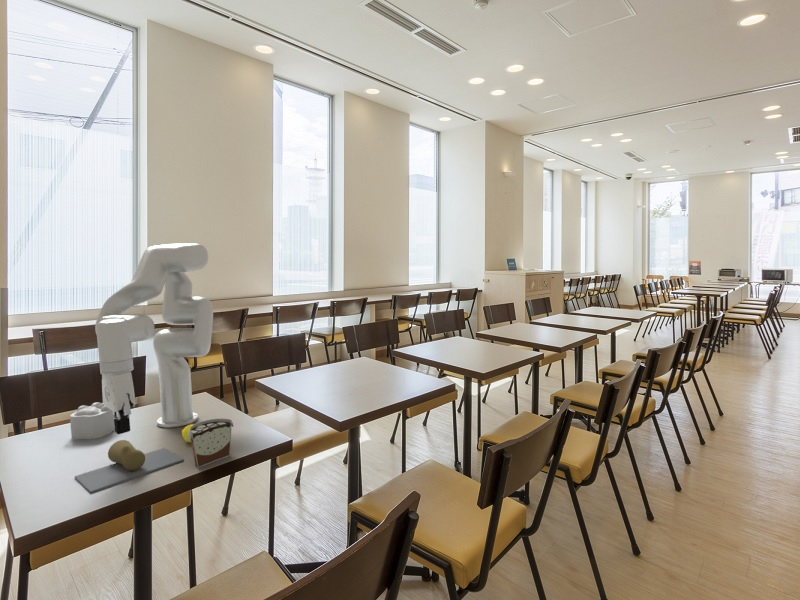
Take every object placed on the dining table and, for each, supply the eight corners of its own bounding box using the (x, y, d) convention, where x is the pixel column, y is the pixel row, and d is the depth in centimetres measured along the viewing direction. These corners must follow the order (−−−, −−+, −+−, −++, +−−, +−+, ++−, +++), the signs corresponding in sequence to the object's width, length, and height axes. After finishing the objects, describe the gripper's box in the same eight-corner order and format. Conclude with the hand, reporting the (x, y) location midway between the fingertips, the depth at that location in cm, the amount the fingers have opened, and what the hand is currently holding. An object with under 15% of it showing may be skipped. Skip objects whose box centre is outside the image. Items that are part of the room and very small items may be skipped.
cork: (103, 461, 123) (119, 472, 116) (113, 438, 124) (129, 448, 117) (126, 463, 127) (143, 475, 120) (136, 441, 129) (152, 451, 122)
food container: (223, 448, 134) (221, 414, 133) (235, 453, 130) (233, 419, 129) (181, 463, 124) (178, 427, 123) (192, 470, 120) (189, 433, 119)
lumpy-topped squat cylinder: (66, 439, 142) (63, 412, 141) (93, 424, 155) (90, 399, 154) (100, 438, 142) (98, 411, 141) (124, 423, 155) (122, 398, 154)
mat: (74, 478, 117) (74, 476, 117) (164, 449, 134) (164, 447, 134) (90, 493, 109) (90, 491, 109) (183, 460, 126) (183, 459, 126)
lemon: (207, 440, 141) (209, 423, 140) (196, 447, 136) (197, 430, 135) (187, 435, 142) (188, 419, 142) (175, 442, 137) (176, 425, 136)
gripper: (90, 364, 124) (97, 429, 126) (111, 373, 114) (117, 444, 117) (121, 358, 130) (127, 421, 132) (143, 367, 120) (149, 434, 122)
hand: (122, 432), depth 124 cm, fingers closed
